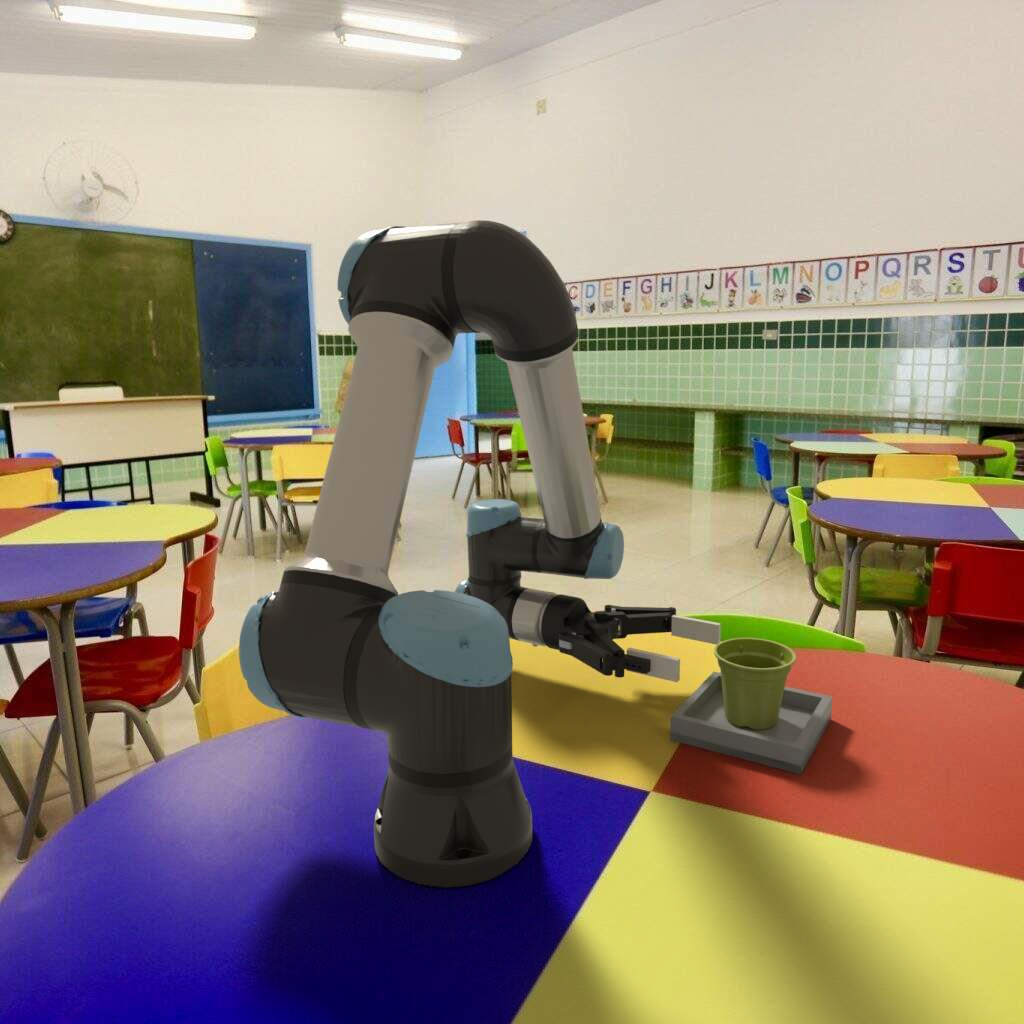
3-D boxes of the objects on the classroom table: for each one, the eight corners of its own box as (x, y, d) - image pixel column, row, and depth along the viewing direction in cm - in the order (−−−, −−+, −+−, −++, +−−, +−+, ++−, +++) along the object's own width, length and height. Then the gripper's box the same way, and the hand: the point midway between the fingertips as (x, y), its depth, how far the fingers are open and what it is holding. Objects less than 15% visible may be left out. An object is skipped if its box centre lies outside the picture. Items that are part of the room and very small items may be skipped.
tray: (800, 774, 87) (802, 749, 87) (670, 739, 96) (670, 716, 95) (831, 719, 100) (832, 696, 99) (713, 692, 108) (713, 671, 107)
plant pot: (809, 728, 96) (813, 659, 94) (744, 744, 92) (747, 673, 90) (757, 696, 104) (760, 633, 102) (696, 710, 101) (698, 645, 99)
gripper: (595, 619, 122) (733, 647, 110) (501, 678, 102) (657, 719, 90) (595, 571, 121) (735, 594, 109) (500, 621, 100) (659, 656, 89)
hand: (700, 651), depth 100 cm, fingers open, 13 cm apart
